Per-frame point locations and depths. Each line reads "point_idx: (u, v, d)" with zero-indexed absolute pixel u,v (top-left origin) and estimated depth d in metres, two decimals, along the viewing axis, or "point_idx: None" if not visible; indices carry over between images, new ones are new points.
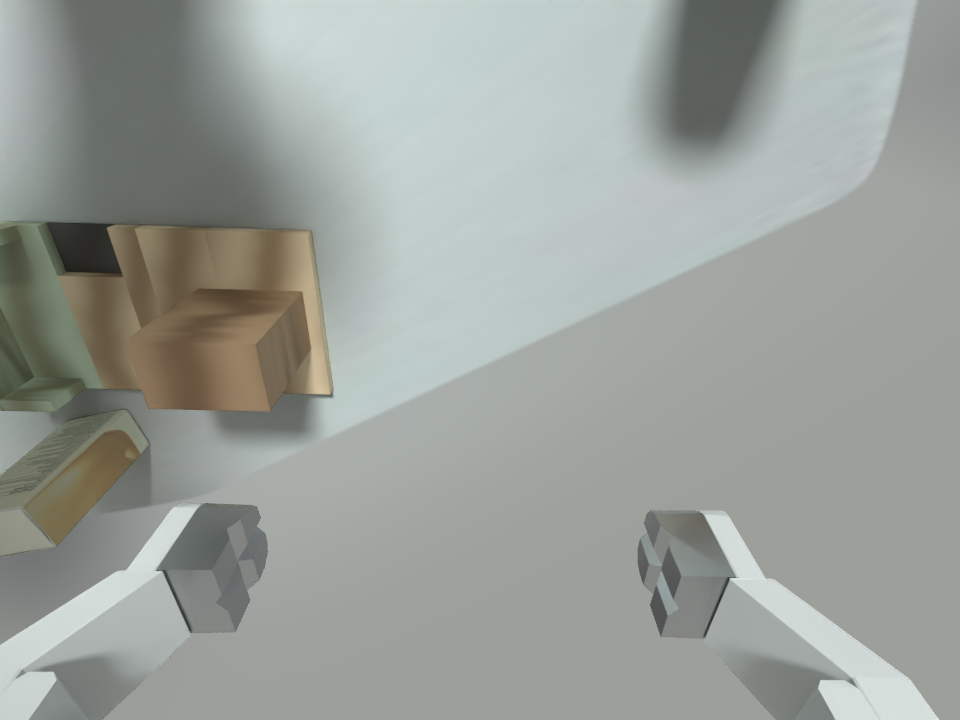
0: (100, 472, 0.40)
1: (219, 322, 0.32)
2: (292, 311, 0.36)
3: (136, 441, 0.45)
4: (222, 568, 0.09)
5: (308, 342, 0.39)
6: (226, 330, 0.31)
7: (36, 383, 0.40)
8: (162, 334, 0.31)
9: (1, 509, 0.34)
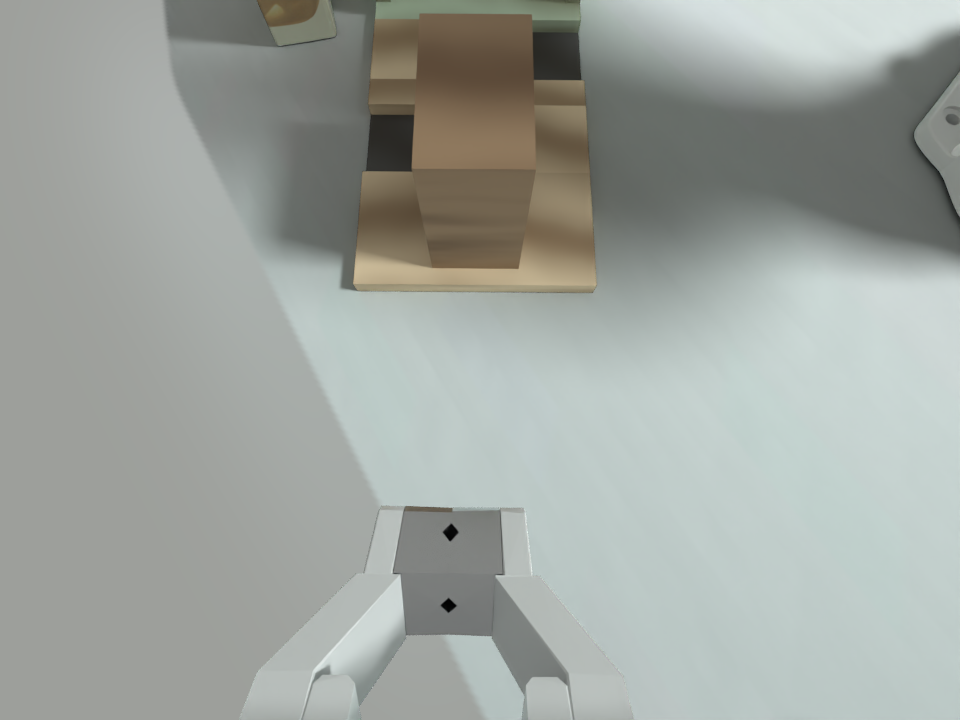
0: None
1: None
2: (512, 247, 0.26)
3: (289, 29, 0.32)
4: None
5: (445, 264, 0.28)
6: None
7: None
8: None
9: None
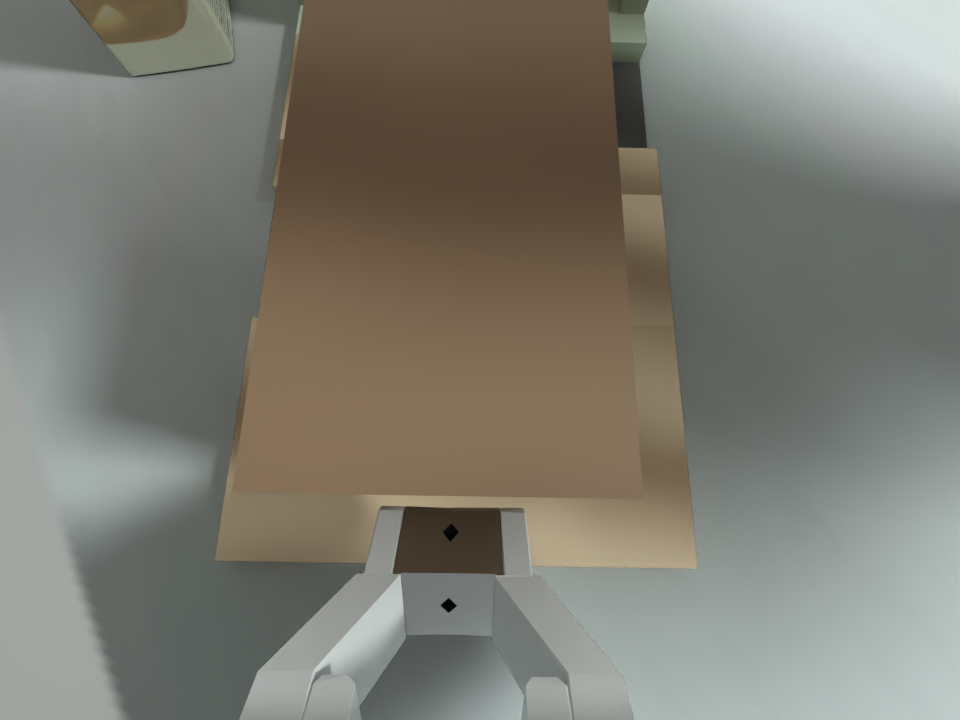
0: None
1: None
2: None
3: (144, 48, 0.19)
4: None
5: None
6: None
7: None
8: None
9: None
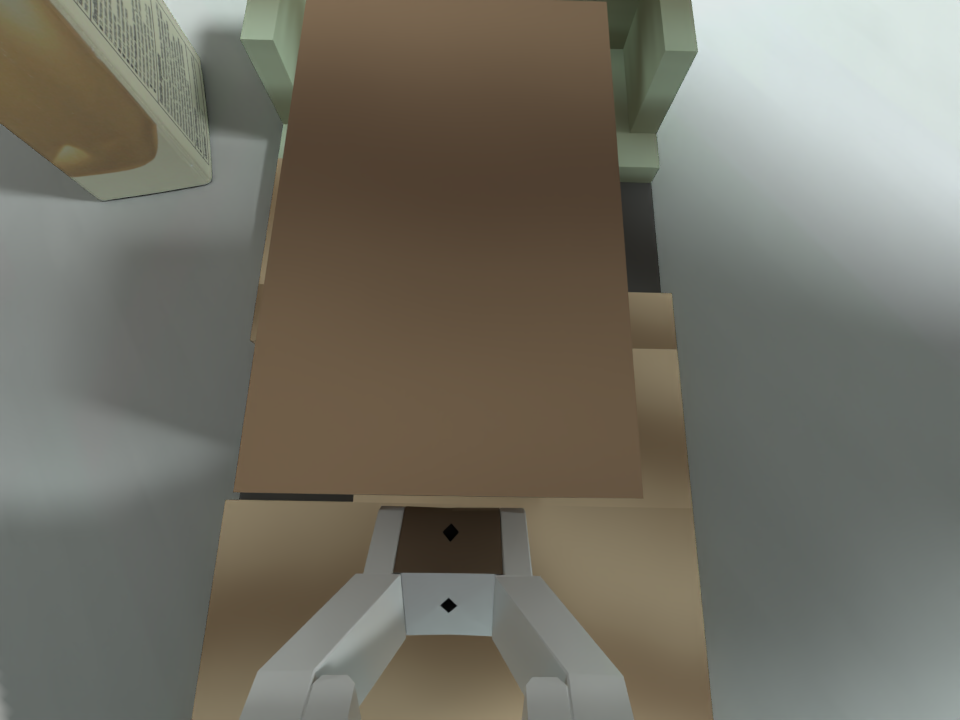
0: (4, 67, 0.13)
1: None
2: (535, 497, 0.12)
3: (112, 178, 0.17)
4: None
5: None
6: None
7: None
8: None
9: None
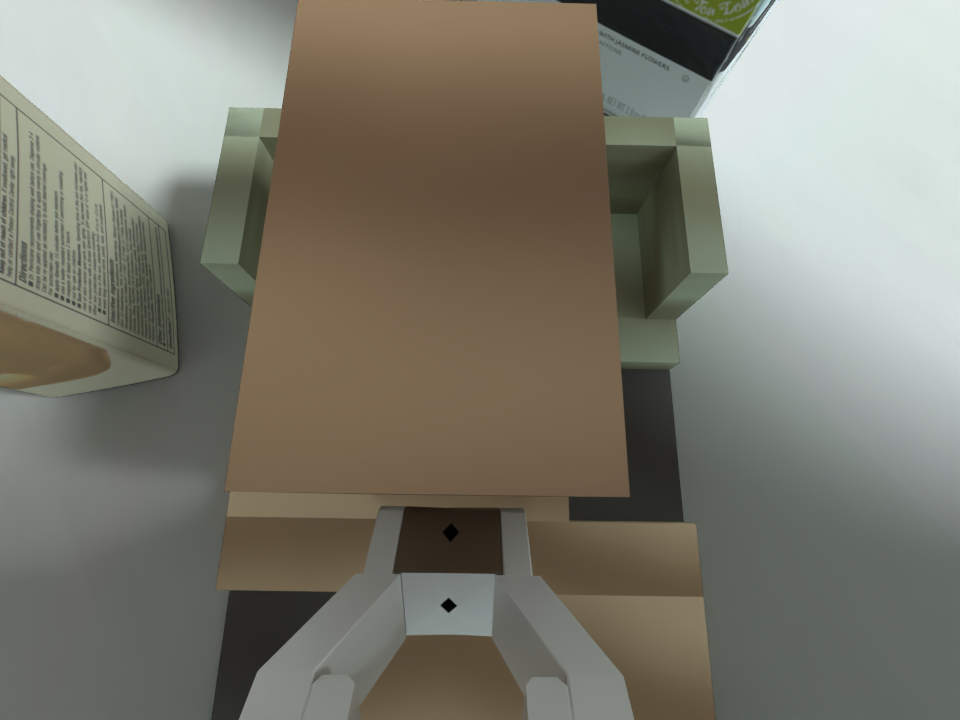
0: None
1: None
2: None
3: (62, 385, 0.15)
4: None
5: None
6: None
7: None
8: None
9: None
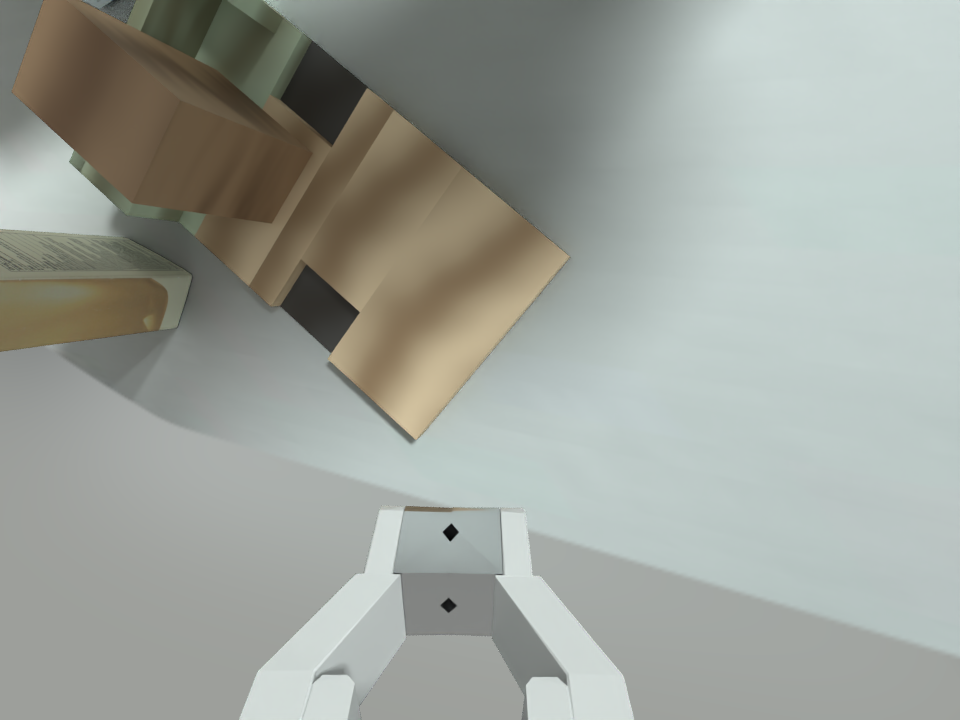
0: (101, 314, 0.28)
1: (181, 75, 0.23)
2: (279, 150, 0.26)
3: (168, 314, 0.33)
4: None
5: (272, 211, 0.29)
6: (175, 78, 0.22)
7: None
8: (101, 20, 0.21)
9: None
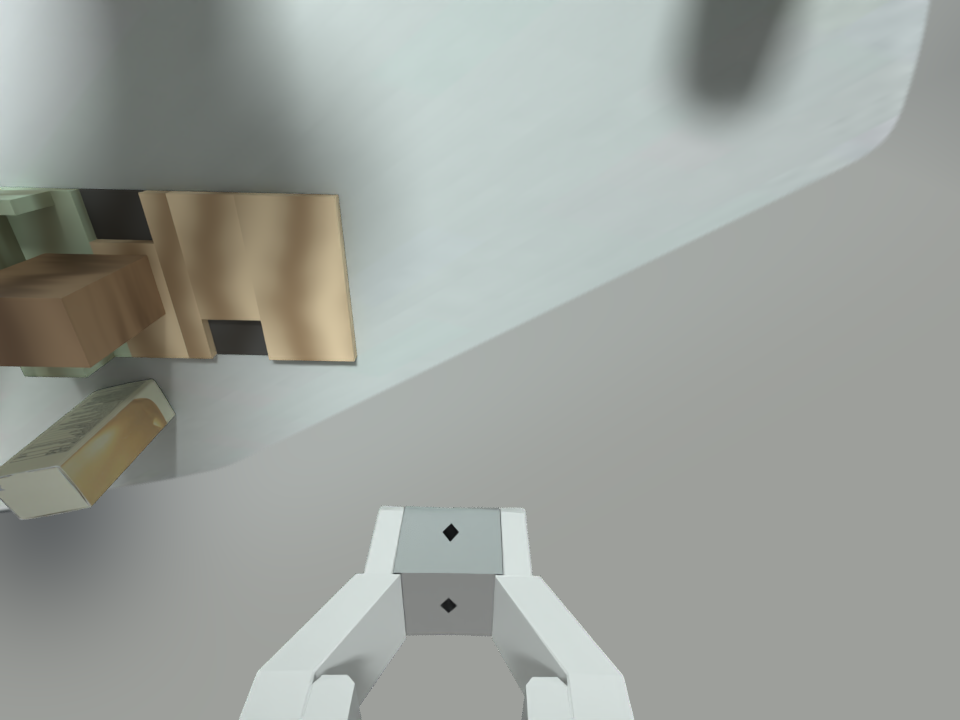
0: (130, 438, 0.41)
1: (40, 281, 0.33)
2: (128, 272, 0.36)
3: (163, 411, 0.45)
4: None
5: (159, 307, 0.40)
6: (42, 287, 0.32)
7: None
8: None
9: (39, 468, 0.35)
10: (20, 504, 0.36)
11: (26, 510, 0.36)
